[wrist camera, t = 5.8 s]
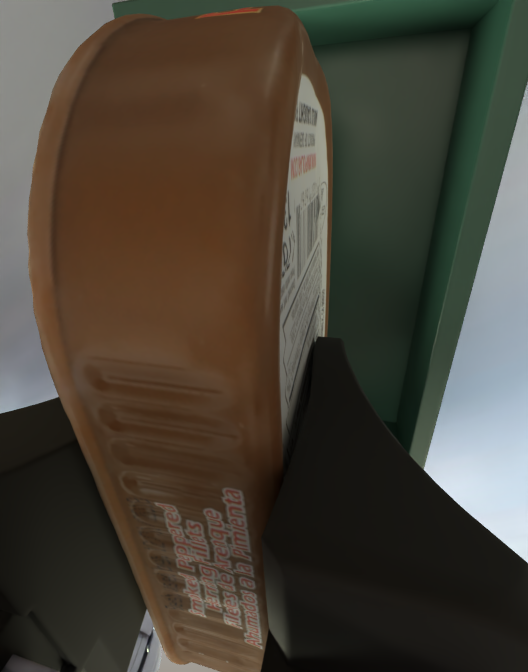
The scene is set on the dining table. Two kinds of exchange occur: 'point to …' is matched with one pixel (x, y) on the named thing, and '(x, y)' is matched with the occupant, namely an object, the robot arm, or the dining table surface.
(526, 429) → the dining table surface
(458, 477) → the dining table surface
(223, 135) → the tin
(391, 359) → the tote
